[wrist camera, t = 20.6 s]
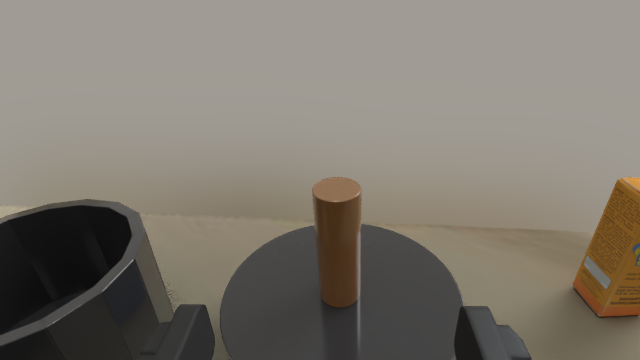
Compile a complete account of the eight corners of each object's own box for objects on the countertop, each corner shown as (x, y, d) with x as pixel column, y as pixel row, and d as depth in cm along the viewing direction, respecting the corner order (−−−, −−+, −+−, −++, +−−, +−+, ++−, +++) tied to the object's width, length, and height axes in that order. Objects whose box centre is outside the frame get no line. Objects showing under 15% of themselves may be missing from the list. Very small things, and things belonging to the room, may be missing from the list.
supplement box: (599, 321, 26) (653, 202, 22) (570, 285, 30) (612, 174, 25) (646, 319, 26) (712, 199, 22) (613, 283, 29) (663, 171, 25)
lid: (294, 503, 15) (268, 368, 11) (194, 284, 26) (162, 175, 22) (518, 330, 22) (557, 204, 17) (362, 213, 33) (362, 119, 29)
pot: (-80, 524, 18) (-207, 429, 14) (-30, 331, 29) (-96, 243, 24) (196, 377, 24) (163, 280, 20) (155, 261, 35) (127, 181, 30)
